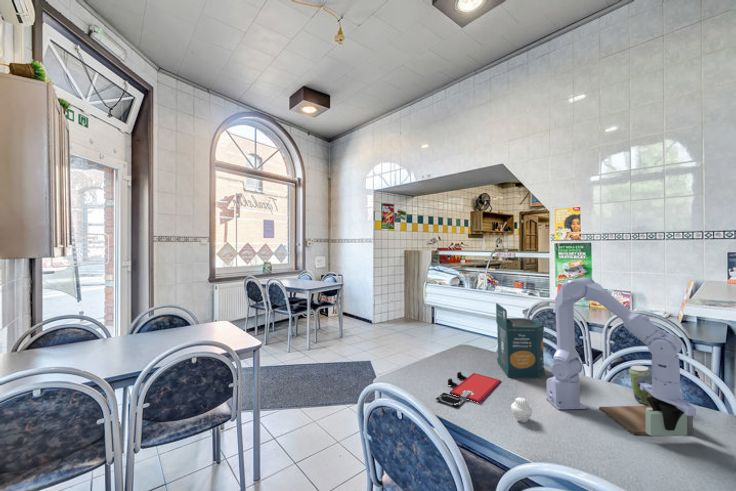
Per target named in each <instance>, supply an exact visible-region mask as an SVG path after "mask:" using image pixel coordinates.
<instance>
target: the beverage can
mask: <svg viewBox="0 0 736 491" xmlns="http://www.w3.org/2000/svg"><path fill="white" fill-rule="evenodd" d="M629 368H630V369H629V370H628V372H629V378H630V382H631V388H632V392H633V396H634V400H636V402H639V403H640V404H643V405H648V401H647V397H648V392H647V391H642V390H641V389H640V383H648V384H650V385H652V370H650V369H649V367H648V366H645V365H639V364H637V365H631V366H630V367H629Z"/></svg>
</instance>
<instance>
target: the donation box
mask: <svg viewBox="0 0 736 491" xmlns="http://www.w3.org/2000/svg"><path fill="white" fill-rule="evenodd" d="M495 311H496V312H495V313H496V314H495V317H496V318H495V319H496V325H497V328H496V329H497V357H496V361H497V362H498V363H497V365H498V366H499V365H500V366H499V367H500V369H501V370H502V371H503V373H504V372H505V373H504V374H505V375H506V377H507V378H513V377H518V378H520V379H521V378H523V379H524V378H525V379H539V378H541V377H542V376H544V375H545V374H546V368H544V367H545V366H544V365H545V364H544V363H545V361H544V359H545V358H544V331H545V327H544V324H543V323H541V322H540V321H538V320H535V319H530V318H526V317H519V318H518V317H508V311H507V309H506V308H505V307H503V306H502V305H501V304H499V303H496V304H495ZM518 378H517V379H518Z"/></svg>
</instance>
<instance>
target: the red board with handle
mask: <svg viewBox="0 0 736 491" xmlns="http://www.w3.org/2000/svg"><path fill="white" fill-rule="evenodd" d="M456 373H457V374H456V376H457V378H461V379H462V380H463V381H461V382H460V383H459V384H458V383H456V382H454V381H453V379H452V378H449V379H447V386H448V385H452V386H453V387H454V386H456V387H454V388H453V389H452V390H450V391H449V393H446V392H443V393H441V394H440V395H438V396H437V397H436V398H435V400H437V401H440V402H442V403H445V404H448V405H451V406H453V405H454V404H456V403H458V404H456V405H455V406H454V407H456V406H458V405H459V406H461V404H462V403H463V402H466V401H467V400H466V399H469V400H472V401H475V402H478V403H480V402H481V401H482V400H483V399H484V398H485V397H486V396H487V395H488V394H489V393H490V392H491V391H492V390H493V391H494V389H496V388H497V387H498V386H499V384H500V383H501V382H502V380H501V379H497V378H493V377H490V376H487V375H483V374H479V373H475V372H473V373H472V374H470V375H469V376H468V377H467V376H465V375H463V374H462V372H461V371H458V372H456ZM457 378H456V379H457ZM464 379H465V380H464ZM493 391H492V392H493ZM492 392H491V393H492ZM491 393H490V394H491ZM450 394H453V395H456V396H459V397H460V398H459V397H456V396H453V395H450ZM490 394H489V395H490ZM489 395H488V396H489ZM488 396H487V397H488ZM487 397H486V398H487ZM486 398H485V399H486ZM485 399H484V400H485ZM465 400H466V401H465ZM484 400H483V401H484ZM462 401H463V402H462ZM483 401H482V402H483ZM459 402H460V403H459ZM482 402H481V403H482ZM481 403H480V404H481ZM459 406H458V407H459Z"/></svg>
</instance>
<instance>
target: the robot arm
mask: <svg viewBox="0 0 736 491" xmlns="http://www.w3.org/2000/svg"><path fill="white" fill-rule="evenodd" d="M582 299H584V300H585V301H589V302H597V303H598V304H600V305H601V306H603V308H605V309H607V310H608V311H610V312H611V313H612V314H614V315H615V316H616V317H617V318H619V319H620V320H621V321H622V322H623V327H624V328H625V329H626V330H628V332H630V333H631V334H633V335H634V336H635V337H636V338H637V339H638V340H639V341H641V342H642V343H643V344H644V345H647V349H648V352H650V354H651V372H652V385H650V384H648V383H640V389H641V390H642V391H647V392H648V393H650V394H651V395H652V396H651V397H647V401H648V402H649V404H650V405H651V407H652V409H653V411H662V414H663V419H664V427H665V429H666V430H668V431H672V430H675V428H676V425H677V422H678V420H679V419H680V417H681V416H682V415H683V414H684V413H685V414H686V415H688V416H693V417H694V416H697V408H696V407H694V406H693V405H691V404H690V403H689V402H688V401H686V400H685V399H684V396H683V395H682V394H681V370H680V369H681V366H680V365H681V364H680V355H679V354H680V352H681V350H682V348H683V346H682V345H683V344H682V342H681V340H679V339H678V337H677V336H676V335H674V334H672V333H669V332H667V330H665V329H661V328H660V327H658V326H657V325H656V324H655V323H653V322H652V321H650V319H651V318H650V317H649V316H648V315H643V314H641V313H633V312H632V311H630V309H628V308H627V307H626V306H625V305H623V304H622V303H621V302H620V300H618V299H616V298H615V297H614V296H613V295H612V294H611V293H609V292H608V291H607V290H606V289H605V288H604V287H603V286H602V285H601V284H599V283H598V282H596V281H595V280H594V279H592V278H590V277H587V276H583V277H580V278H574V279H573V278H572V279H569V280H567V281H565V282H563V283H562V284H561V288H560V289H559V291H558V293H557V294H556V295H555V297H554V306H555V307H554V308H555V309H554V310H555V326H556V328H555V330H556V351H555V353H554V355H553V360H552V363H551V365H550V370H551V373H552V375H553V376H552V377H549V378H547V379H546V381H545V382H546V383H545V384H546V396H545V399H546V400H547V401H548V402H549V403H551V405H552V406H554V407H555V408H556V409H557V410H586V409H587V406H585V405H584V404H583V403H581V391H580V390H581V388H580V374H581V373H582V371H583V363H582V362H581V359H580V354H579V352H577V350H576V337H575V336H576V335H575V334H576V333H575V317H574V315H575V314H574V312H575V311H574V305H575V304H576V303H578V302H579V301H580V300H582Z"/></svg>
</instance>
